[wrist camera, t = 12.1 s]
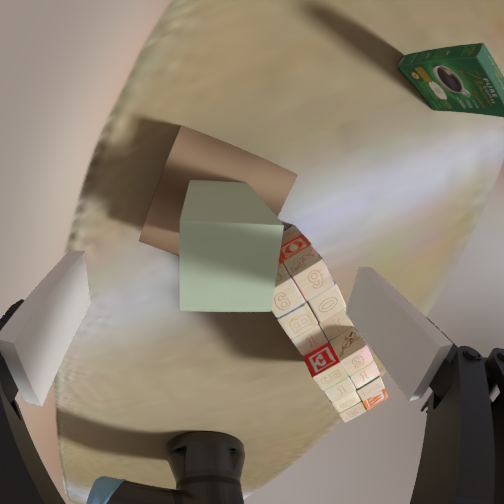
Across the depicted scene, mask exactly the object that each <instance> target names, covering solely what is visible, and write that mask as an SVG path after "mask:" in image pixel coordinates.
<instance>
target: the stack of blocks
mask: <svg viewBox="0 0 504 504" xmlns="http://www.w3.org/2000/svg"><path fill="white" fill-rule="evenodd" d="M346 310H347V309H346V304H345V302H344V299H343V297H342V295H341V293H340V290H339V288H338V286H337V284H336V283H335V281H334V280H333V279H332V277H331V275H330V272H329V270H328V268H327V266H326V264H325V262H324V260H323V259H322V257H321V256H320V255H319V254H318V253H317V252H316V250H315V249H314V248H313V246H312V244H311V243H310V242H309V241H308V239H307V238H306V237H305V236H304V235H303V234H302V233H301V232H300V231H299V230H298V229H297V228H296V226H295V225H293V226H292V227H290V228H288V229H286V230H285V231H283V236H282V243H281V250H280V256H279V263H278V269H277V276H276V282H275V289H274V295H273V301H272V308H271V311H272V313H273V314H274V315H275V317H276V318H277V320H278V322H279V323H280V325H281V326H282V328H283V329H284V331H285V332H286V333H287V335H288V336H289V338H290V339H291V341H292V342H293V344H294V345H295V346H296V348H297V349H298V350H299V352H300V353H301V354H302V355H303V358H304V360H305V363H306V365H307V367H308V369H309V372H310V374H311V376H312V378H313V379H314V380H315V382H316V383H317V384H318V386H319V387H320V388H321V390H322V391H324V392H325V394H326V395H327V396H328V398H329V399H330V402H331V404H332V405H333V406H334V408H335V409H336V410H337V412H338V413H339V415H340V416H341V418H342V419H343V421H344V422H347V421H349V420H351V419H353V418H355V417H357V416H359V415H360V414H362V413H364V412H365V411H366V410H369V409H371V408H372V407H374V406H376V405H377V404H379V403H381V402H382V401H384V400H385V399H387V398H388V395H387V393H386V390H385V386H384V384H383V381H382V379H381V377H380V373H379V370H378V368H377V365H376V363H375V361H374V359H373V357H372V355H371V353H370V350H369V348H368V346H367V344H366V343H365V341H364V340H363V338H362V337H361V335H360V334H359V333H358V331H357V330H356V328H355V327H354V324H353V323H352V322H351V320H350V319H349V318H348V316H347V315H346V314H345V313H346Z"/></svg>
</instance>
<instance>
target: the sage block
mask: <svg viewBox="0 0 504 504" xmlns="http://www.w3.org/2000/svg"><path fill="white" fill-rule="evenodd" d="M283 229H284V225H283V224H282V223H281V221H280V220H279V219H278V218H277V217H276V215H275V214H274V213H273V212H272V211H271V209H270V208H269V207H268V206H267V205H266V204H265V202H264V201H263V200H262V199H261V198H260V196H259V195H258V194H257V193H256V192H255V191H254V189H253V188H252V187H251V186H250V185H249V184H248V183H241V182H225V181H207V180H190V182H189V186H188V190H187V193H186V197H185V201H184V206H183V210H182V214H181V218H180V235H179V297H180V311H204V312H271V308H272V301H273V295H274V289H275V282H276V276H277V269H278V263H279V256H280V250H281V243H282V236H283Z"/></svg>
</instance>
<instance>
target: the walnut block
mask: <svg viewBox="0 0 504 504" xmlns="http://www.w3.org/2000/svg"><path fill="white" fill-rule="evenodd" d="M296 177H297V174H295V173H293V172H291V171H289V170H287V169H285V168H283V167H281V166H278V165H276V164H274V163H272V162H270V161H268V160H265V159H263V158H261V157H259V156H256V155H254V154H252V153H249V152H247V151H245V150H242V149H240V148H238V147H235V146H233V145H231V144H228V143H226V142H223V141H221V140H218V139H216V138H213V137H211V136H208V135H206V134H203V133H201V132H198V131H195V130H193V129H190V128H188V127H185V126H181V128H180V130H179V132H178V135H177V137H176V140H175V142H174V144H173V147H172V149H171V152H170V154H169V157H168V159H167V162H166V164H165V167H164V169H163V172H162V175H161V177H160V180H159V183H158V185H157V188H156V191H155V194H154V197H153V199H152V202H151V205H150V208H149V211H148V214H147V217H146V220H145V223H144V226H143V229H142V232H141V236H140V239H139V241H140V242H142V243H145V244H148V245H151V246H154V247H156V248H159V249H162V250H165V251H168V252H170V253H173V254H176V255H179V235H180V218H181V214H182V210H183V206H184V201H185V197H186V193H187V190H188V186H189V182H190V180H207V181H225V182H241V183H248V184H249V185H250V186H251V187H252V188H253V189H254V191H255V192H256V193H257V194H258V195H259V196H260V198H261V199H262V200H263V201H264V202H265V204H266V205H267V206H268V207H269V208H270V209H271V211H272V212H273V213H274V214H275V215H276V217H278V215H279V213H280V211H281V209H282V206H283V204H284V202H285V200H286V198H287V196H288V194H289V192H290V190H291V188H292V186H293V183H294V181H295V179H296Z"/></svg>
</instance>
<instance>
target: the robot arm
mask: <svg viewBox="0 0 504 504" xmlns="http://www.w3.org/2000/svg"><path fill="white" fill-rule="evenodd" d="M90 305H91V302H90V295H89V288H88V280H87V271H86V261H85V251H69V252H68V253H67V254H66V255H65V256H64V257H63V258H62V260H61V261H60V262H59V263H58V264H57V265H56V266H55V267H54V268H53V269H52V270H51V271H50V272H49V273H48V274H47V276H46V277H45V278H44V279H43V280H42V281H41V282H40V283H39V284H38V286H37V287H36V288H35V289H34V290H33V291H32V292H31V294H30V295H29V296H28V297H27V298H26V300H22V299H21V300H20V301H18V302H16V303H15V304H13V305H12V306H11V307H10V308H9V309H8V310H7V312H6V313H5V315H3V317H2V318H1V319H0V504H65V502H64V500H63V499H62V497H61V495H60V494H59V492H58V490H57V489H56V487H55V485H54V483H53V482H52V480H51V478H50V476H49V475H48V472H47V471H46V469H45V467H44V465H43V463H42V461H41V459H40V457H39V455H38V453H37V450H36V448H35V446H34V444H33V441H32V439H31V437H30V435H29V432H28V430H27V427H26V425H25V422H24V420H23V417H22V414H21V412H20V409H19V406H18V404H17V402H16V401H15V396H16V394H17V392H18V391H19V393H20V395H21V397H22V398H23V400H24V402H26V403H29V404H33V405H36V406H40V407H42V406H43V404H44V401H45V399H46V396H47V394H48V391H49V389H50V387H51V384H52V382H53V380H54V378H55V375H56V373H57V371H58V369H59V366H60V364H61V362H62V360H63V358H64V356H65V354H66V351H67V349H68V347H69V345H70V343H71V341H72V339H73V337H74V335H75V333H76V331H77V329H78V327H79V325H80V323H81V322H82V320H83V318H84V316H85V314H86V312H87V310H88V308H89V307H90ZM345 314H346V315H347V316H348V318H349V319H350V320H351V322H352V323H353V324H354V326H355V327H356V328H357V330H358V331H359V332H360V334H361V335H362V336H363V338H364V339H365V341H366V342H367V343H368V345H369V346H370V347H371V349H372V350H373V351H374V353H375V354H376V356H377V357H378V358H379V360H380V361H381V363H382V364H383V365H384V367H385V368H386V370H387V371H388V372H389V374H390V375H391V377H392V378H393V379H394V381H395V382H396V384H397V385H398V386H399V388H400V389H401V391H402V392H403V394H404V395H405V396H406V398H407V399H408V401H411V400H414V399H418V398H421V397H422V396H423V395H424V393H425V392H426V390H427V389H428V387H430V388H431V389H432V390H433V392H432V393H431V395H430V396H429V398H428V399H427V401H426V402H425V404H424V405H423V407H422V409H421V411H423V410H424V409H425V408H426V407H428V410H427V411H426V413H427V421H426V428H425V435H424V442H423V448H422V453H421V459H420V464H419V468H418V473H417V478H416V482H415V486H414V490H413V494H412V498H411V501H410V504H504V349H500V348H494V349H493V350H492V352H491V353H490V355H489V357H488V358H483V357H482V356H481V355H480V354H479V353H478V352H477V351H476V350H474V349H473V348H470V347H468V346H460V347H459V348H458V347H457V346H456V345H455V344H454V343H453V342H452V341H451V340H450V339H449V338H448V337H447V336H446V335H445V334H444V333H443V332H442V331H440V330H439V328H438V327H437V326H435V325H434V324H433V323H432V322H431V321H430V320H429V319H428V318H427V317H425V316H424V315H423V314H422V313H421V312H420V311H419V310H418V309H417V308H416V307H414V306H413V305H412V304H411V303H410V302H409V301H408V300H407V299H406V298H405V297H404V296H403V295H401V294H400V293H399V292H398V291H397V290H396V289H395V288H394V287H393V286H391V285H390V284H389V283H388V282H387V281H386V280H385V279H384V278H383V277H381V276H380V275H379V274H378V273H377V272H376V271H375V270H373V269H372V268H368V267H359V269H358V273H357V277H356V280H355V284H354V287H353V290H352V294H351V297H350V300H349V304H348V307H347V310H346V313H345ZM498 388H499V390H500V394H499V395H498V396H497V398H496V399H495V401H494V402H492V400H491V397H492V396H493V394H494V393H495V391H496V390H497V389H498ZM167 459H168V462H169V465H170V467H171V470H172V472H173V475H174V477H175V480H176V490H174V489H168V488H162V487H155V486H150V485H144V484H139V483H135V482H130V481H126V480H125V479H116V478H112V477H107V476H101V477H99V478H97V479H96V480H95V482H94V484H93V486H92V488H91V491H90V494H89V497H88V500H87V504H244V500H243V495H242V490H241V484H240V477H241V473H242V468H243V464H244V459H245V452H244V446H243V444H242V442H241V441H240V440H238V439H237V438H235V437H233V436H230V435H227V434H223V433H217V432H193V433H187V434H183V435H180V436H177V437H175V438H173V439H172V440H171V441H169V443H168V444H167Z"/></svg>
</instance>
